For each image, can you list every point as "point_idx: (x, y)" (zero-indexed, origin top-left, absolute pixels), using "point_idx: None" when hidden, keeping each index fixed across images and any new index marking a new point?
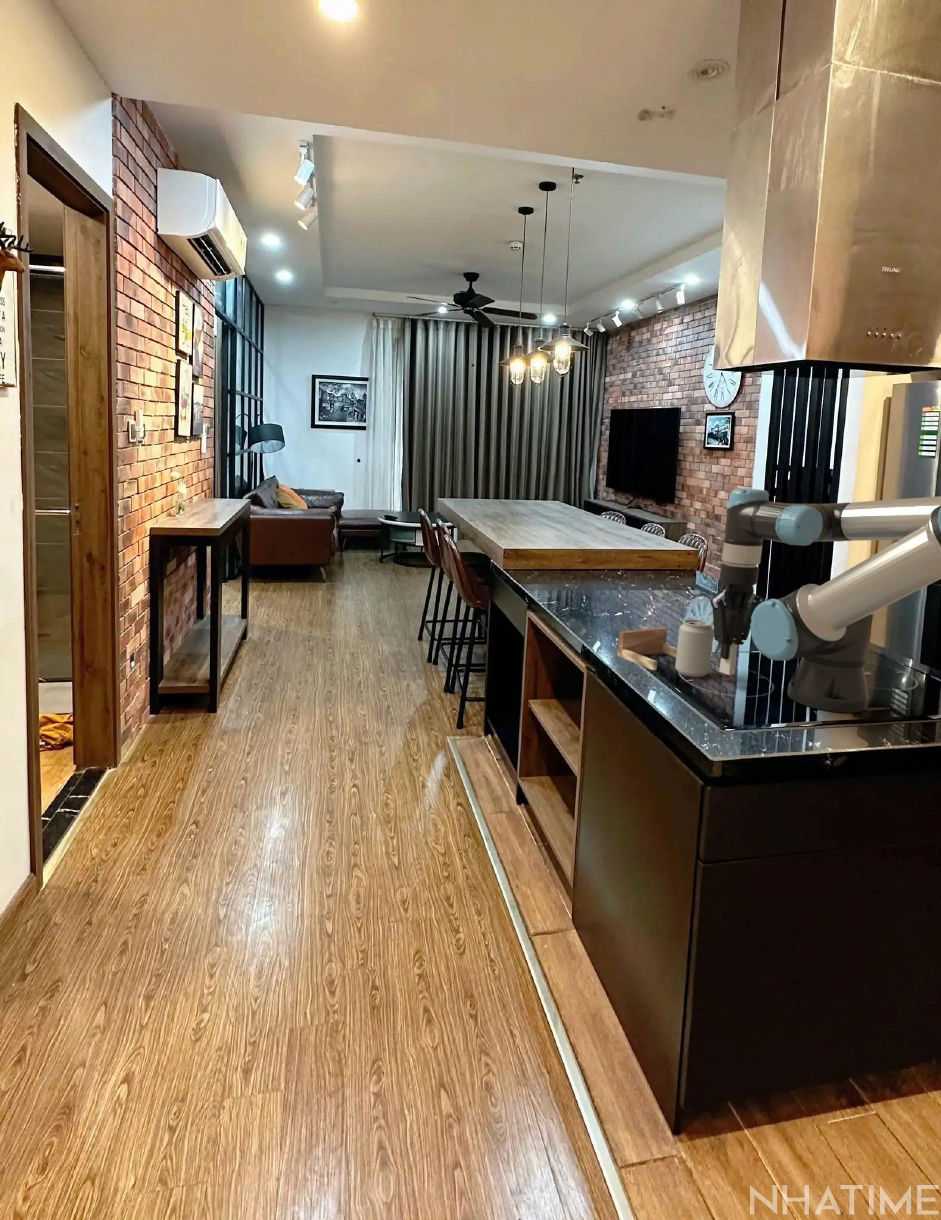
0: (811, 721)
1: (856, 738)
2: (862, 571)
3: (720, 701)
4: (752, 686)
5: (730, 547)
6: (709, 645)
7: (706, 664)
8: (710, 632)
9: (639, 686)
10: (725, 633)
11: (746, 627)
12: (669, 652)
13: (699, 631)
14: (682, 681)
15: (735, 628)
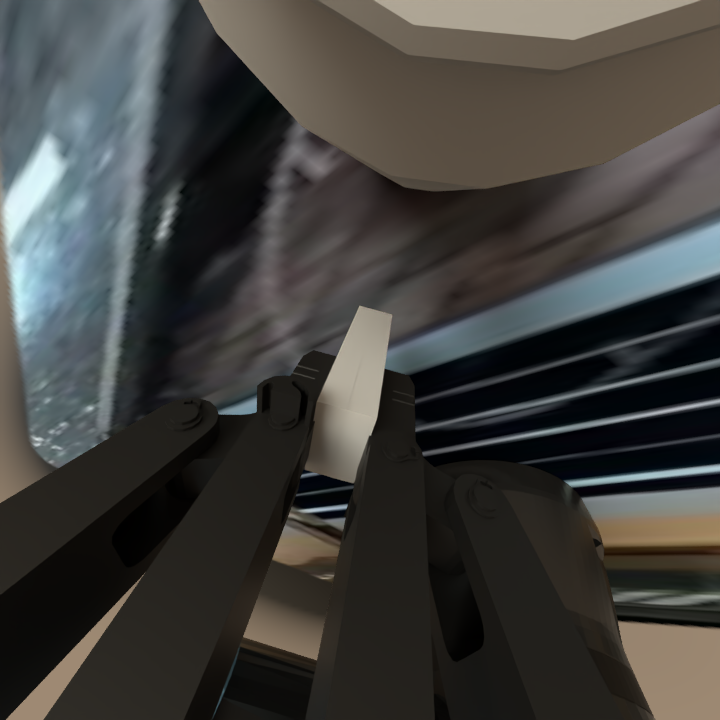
0: (310, 515)
1: (302, 556)
2: None
3: (228, 370)
4: (457, 375)
5: None
6: (435, 187)
7: (417, 188)
8: (443, 179)
9: (11, 56)
10: (141, 550)
11: (447, 693)
12: None
13: (230, 3)
14: (266, 150)
15: (328, 624)
